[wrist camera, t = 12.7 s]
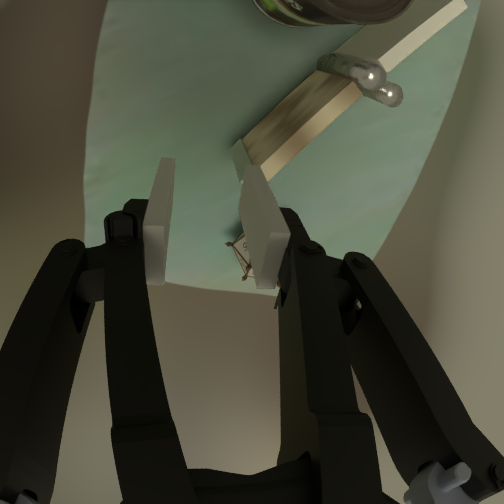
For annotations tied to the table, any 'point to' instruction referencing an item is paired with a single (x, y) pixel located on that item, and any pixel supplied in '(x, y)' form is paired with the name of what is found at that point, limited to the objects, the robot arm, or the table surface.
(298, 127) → the gate
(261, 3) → the coffee can
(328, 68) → the gate post
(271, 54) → the table surface
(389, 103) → the peg
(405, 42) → the light grey flat panel
